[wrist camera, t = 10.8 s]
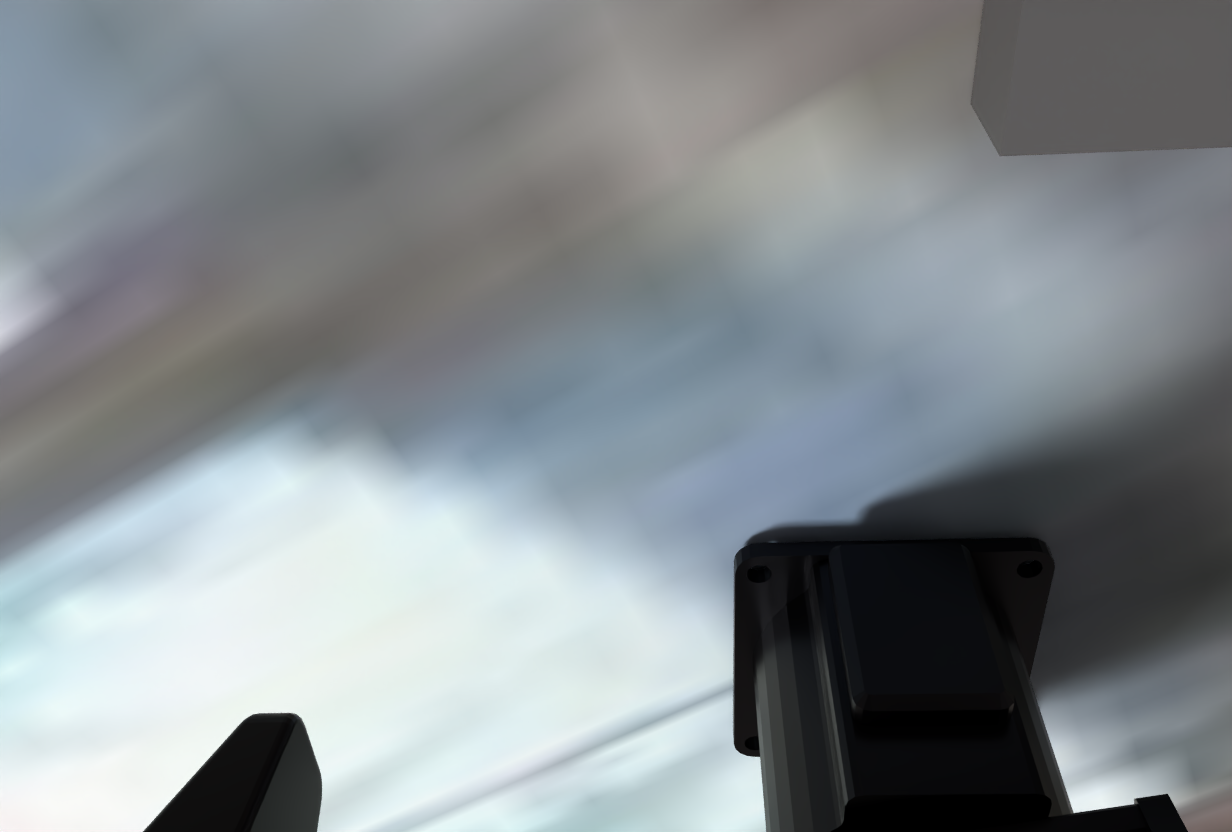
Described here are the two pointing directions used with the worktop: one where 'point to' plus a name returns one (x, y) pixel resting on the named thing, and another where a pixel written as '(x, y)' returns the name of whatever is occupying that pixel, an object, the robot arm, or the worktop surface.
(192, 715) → the worktop surface
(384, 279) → the worktop surface
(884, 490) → the worktop surface
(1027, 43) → the block
